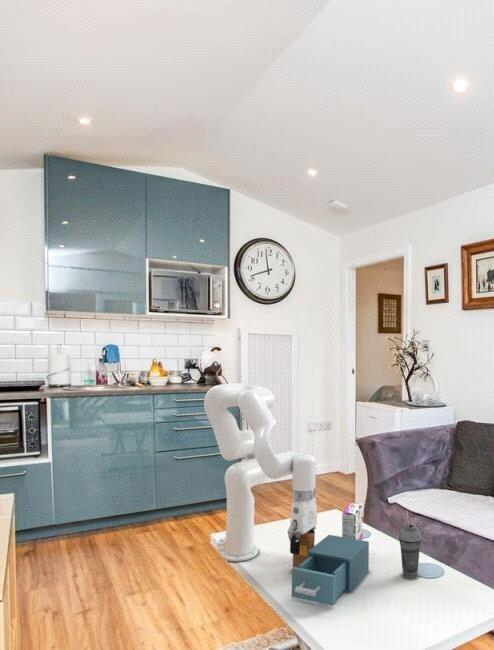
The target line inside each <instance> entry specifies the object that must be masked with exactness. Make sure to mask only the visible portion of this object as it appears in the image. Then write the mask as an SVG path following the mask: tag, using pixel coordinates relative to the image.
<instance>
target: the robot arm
mask: <svg viewBox="0 0 494 650" xmlns="http://www.w3.org/2000/svg"><path fill="white" fill-rule="evenodd" d="M274 404H275V396H274V394H273V392H272V391H271V390H270V389H268V388H267V387H264V386H259V385H256V384H251V383H247V382H234V383H222V384H217V385H215V386H212V387H210V389H208V391H207V392H206V394H205V396H204V401H203V408H204V412H205V414H206V417H207V420H208V421H209V423H210V426H211V427H212V430H213V433H214V437H215V439H216V443H217V447H218V450H219V452H220V455H221V457H222V458H223V459H224V460H226V461H235V460H238V459H243V458H244V459H243V460H241V461H238V462H235V463H233V464H231V465H230V466H228V467H227V469H226V470H225V473H224V486H225V491H226V518H225V519H226V521H225V537H222V536H221V537H219V539H218V541H217V546H219V547H222V549H221V551H220V558H221V559H223V560H225V561H228V562H243V561H248V560H250V559H253V558H255V557H256V556H257V555H258V553H259V548H258V547H257V545H255V544H254V543H255V497H254V495H253V493H252V489H251V488H253V487H255V486H257V485H260V484H261V485H262V484H263V483H265V482H267V480H268V479H271V480H278V479H282V478H284V477H287V476H291V475H292V482H291V483H292V484H291V485H292V486H291V488H292V489H291V500H292V503H291V510H290V520H289V521H290V523H289V525H290V526H289V527H288V529H287V536H288V539H289V540H288V541H289V554H291V555H293V554H296V555H299V554H300V541H299V538H300V535H301V534H305V533H307V532H309V533H315V534H316V528H317V527H316V526H317V524H318V509H317V508H318V507H317V499H316V478H317V477H316V476H317V475H316V473H317V471H316V469H317V460H316V457H315V456H314V455H312V454H303V453H300V452H298V451H296V450H295V451H294V450H288V451H284V452H281V453H277V454H276V453H275V452H274V450H273V448H272V446H271V443H270V434H271V433H272V432H273V430H274V429H276V426H277V421H276V419H275V417H274V415H273V414H272V413H271V411H270V410H271V409H272V408H273V407H274ZM230 407H231V408H233V407H238V409H239V410H240V412H241V414H242V415H243V418H244V419H245V421H246V423H247V424H248V427H249V428H250V429H245V430H244V429H243V430H240V428H239V425H238V421H237V420H236V417H235V416H234V415H233V414H232V413H231V412H230V411H229V409H228V408H230ZM294 534H297V537H296V536H295V535H294ZM315 536H316V535H315ZM315 536H314V543H315V542H316V541H315V539H316V537H315Z"/></svg>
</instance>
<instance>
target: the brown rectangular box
mask: <svg viewBox="0 0 494 650" xmlns="http://www.w3.org/2000/svg"><path fill="white" fill-rule="evenodd" d="M315 534H316V532H315V533H309V532H307V533H305V534H301V535H300V538H299V541H300V554H299V555H296V554H292V568H293V567H297V568H299V565H301V564H302V563H303V562H304V561H305V560H307V559H308V551H309V550H310V549H311V548H313V547H314V546H315V542H314V536H316V535H315ZM294 535H295V536H296V537H297V534H294Z"/></svg>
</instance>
